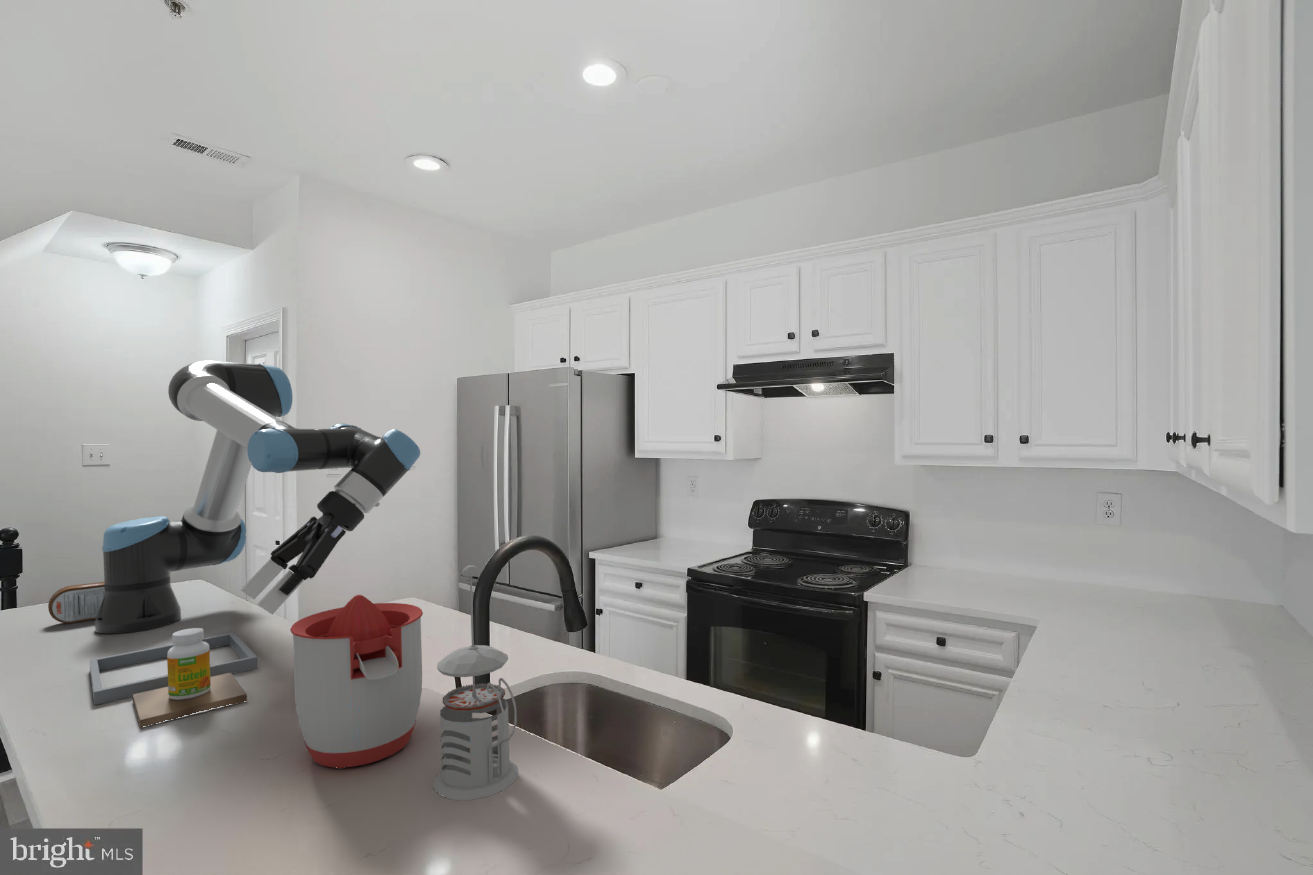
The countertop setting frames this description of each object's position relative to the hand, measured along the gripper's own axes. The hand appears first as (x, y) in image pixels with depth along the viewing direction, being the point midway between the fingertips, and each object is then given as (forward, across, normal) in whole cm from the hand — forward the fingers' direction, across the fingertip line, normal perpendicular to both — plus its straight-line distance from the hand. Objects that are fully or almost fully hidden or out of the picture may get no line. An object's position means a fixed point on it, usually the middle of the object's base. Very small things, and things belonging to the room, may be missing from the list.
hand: (255, 602), depth 108 cm
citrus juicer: (+6, -36, -14) cm, 39 cm away
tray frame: (+16, +20, -3) cm, 26 cm away
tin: (+24, +77, +3) cm, 80 cm away
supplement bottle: (+16, 0, -3) cm, 16 cm away
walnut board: (+16, 0, -3) cm, 17 cm away
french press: (+1, -54, -19) cm, 57 cm away
